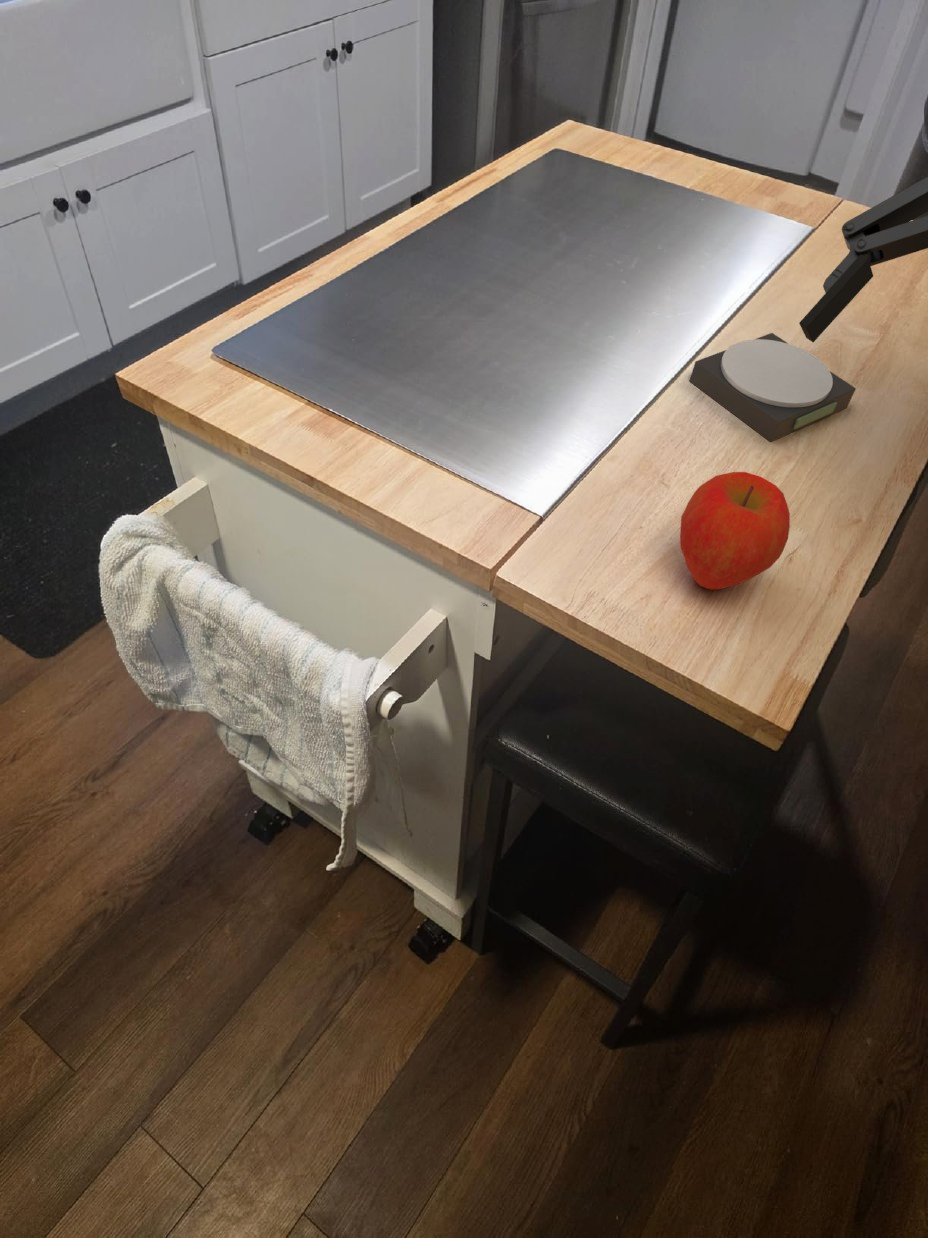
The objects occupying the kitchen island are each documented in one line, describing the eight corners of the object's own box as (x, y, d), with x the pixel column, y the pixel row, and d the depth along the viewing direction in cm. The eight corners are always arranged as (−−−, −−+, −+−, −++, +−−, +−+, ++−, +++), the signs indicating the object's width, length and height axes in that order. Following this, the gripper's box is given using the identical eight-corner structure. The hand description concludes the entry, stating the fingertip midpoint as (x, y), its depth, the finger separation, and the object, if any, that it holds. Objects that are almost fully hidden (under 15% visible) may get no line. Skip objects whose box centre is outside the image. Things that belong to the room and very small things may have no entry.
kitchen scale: (848, 409, 93) (860, 384, 91) (772, 443, 88) (782, 418, 86) (764, 351, 100) (773, 327, 97) (688, 381, 95) (696, 356, 92)
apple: (730, 637, 71) (775, 542, 63) (642, 584, 74) (674, 487, 66) (776, 580, 76) (824, 485, 67) (692, 533, 79) (728, 437, 71)
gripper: (1272, 240, 58) (1018, 487, 63) (955, 104, 70) (766, 320, 76) (1301, 172, 52) (1017, 452, 57) (948, 37, 64) (742, 276, 70)
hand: (873, 377), depth 66 cm, fingers open, 13 cm apart
